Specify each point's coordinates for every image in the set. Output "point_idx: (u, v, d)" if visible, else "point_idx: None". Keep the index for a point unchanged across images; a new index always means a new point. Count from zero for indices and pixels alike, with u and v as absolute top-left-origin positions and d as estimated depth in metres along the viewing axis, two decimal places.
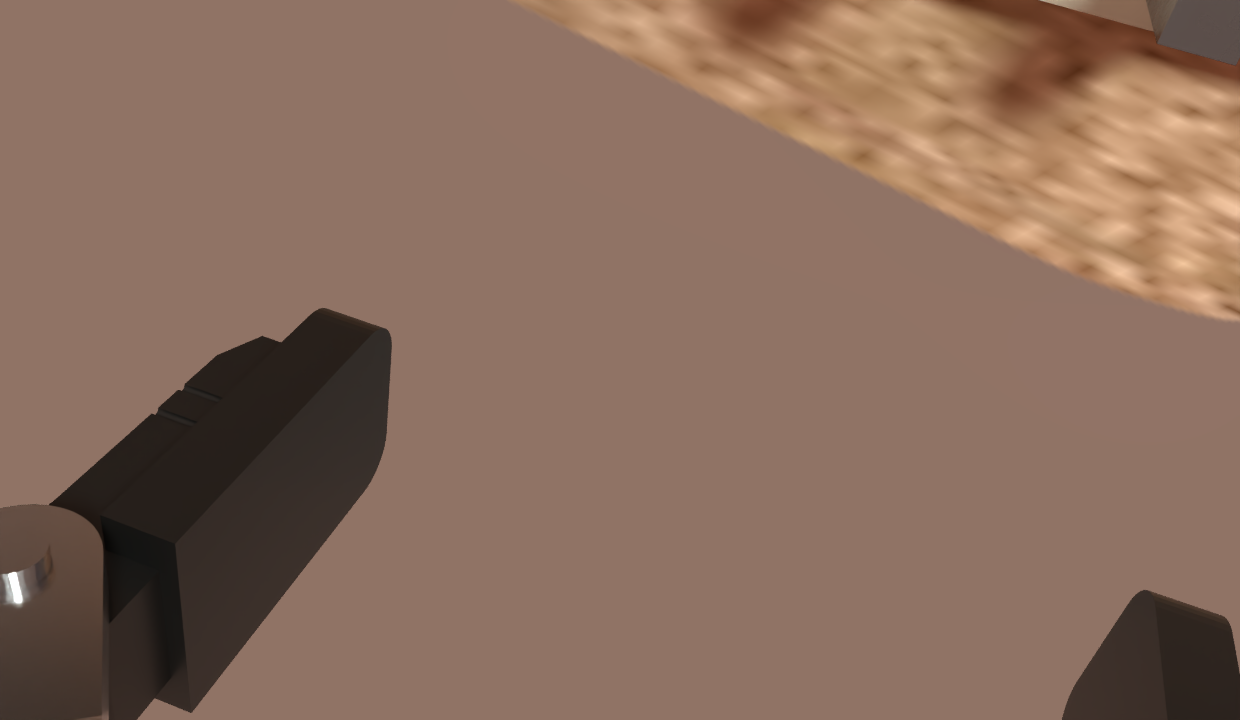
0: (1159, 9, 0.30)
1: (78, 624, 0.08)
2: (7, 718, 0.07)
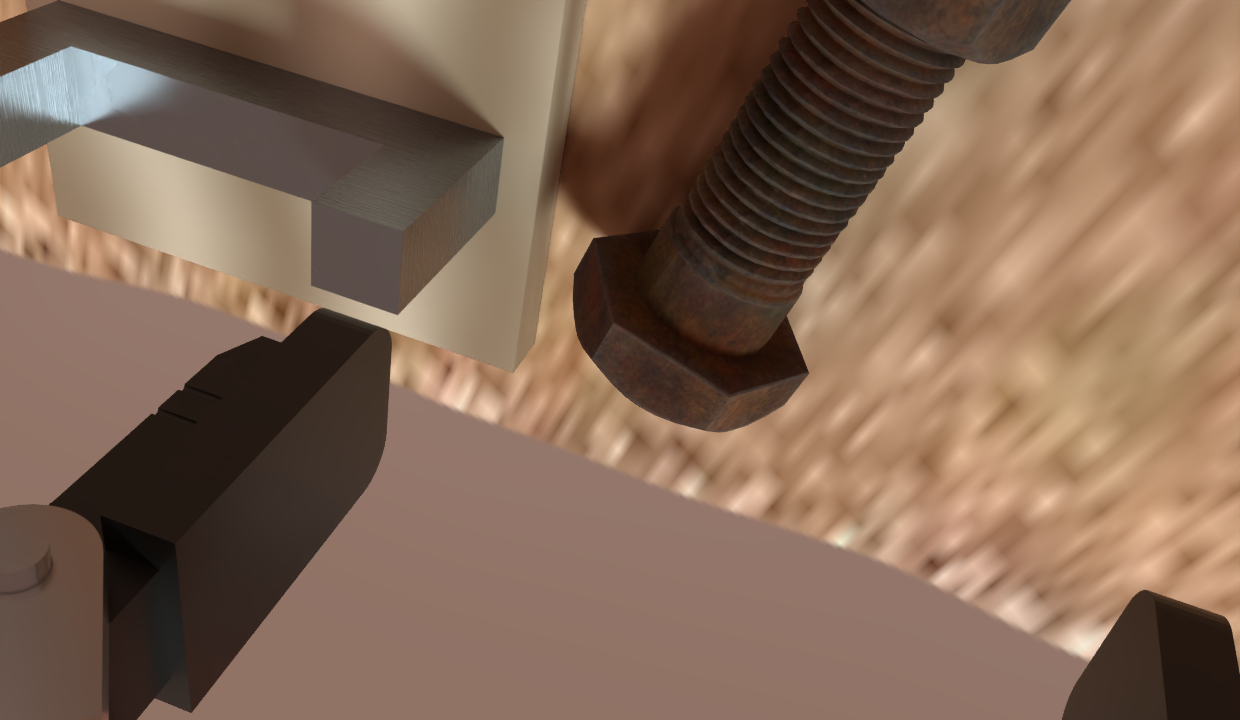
0: None
1: (78, 624, 0.08)
2: (7, 718, 0.07)
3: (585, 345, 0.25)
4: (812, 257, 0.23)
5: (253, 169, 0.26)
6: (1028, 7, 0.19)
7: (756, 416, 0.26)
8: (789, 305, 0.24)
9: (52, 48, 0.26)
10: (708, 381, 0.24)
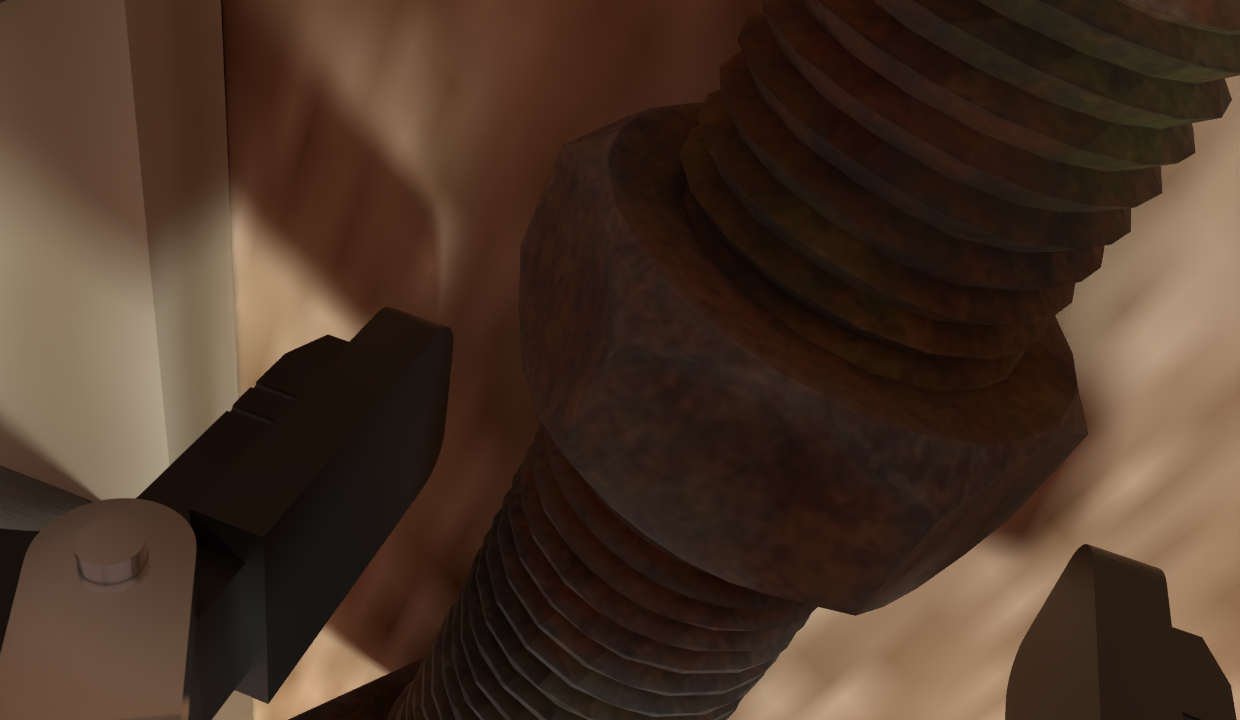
0: None
1: (179, 615, 0.08)
2: (92, 708, 0.07)
3: None
4: None
5: None
6: (989, 503, 0.08)
7: None
8: None
9: None
10: None
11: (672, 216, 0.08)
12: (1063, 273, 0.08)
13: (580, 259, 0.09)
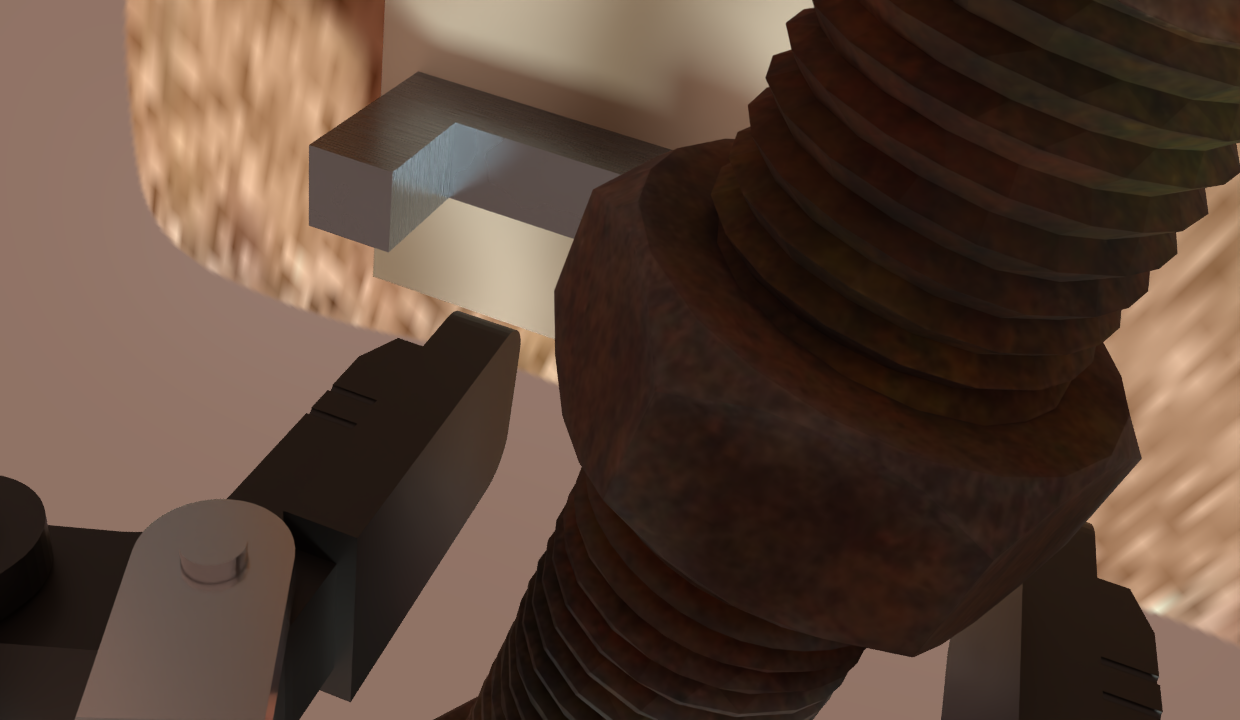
0: (366, 123, 0.25)
1: (284, 614, 0.08)
2: (181, 706, 0.08)
3: None
4: None
5: None
6: (1044, 534, 0.08)
7: None
8: None
9: (440, 125, 0.26)
10: None
11: (707, 258, 0.08)
12: (1110, 300, 0.08)
13: (616, 305, 0.08)
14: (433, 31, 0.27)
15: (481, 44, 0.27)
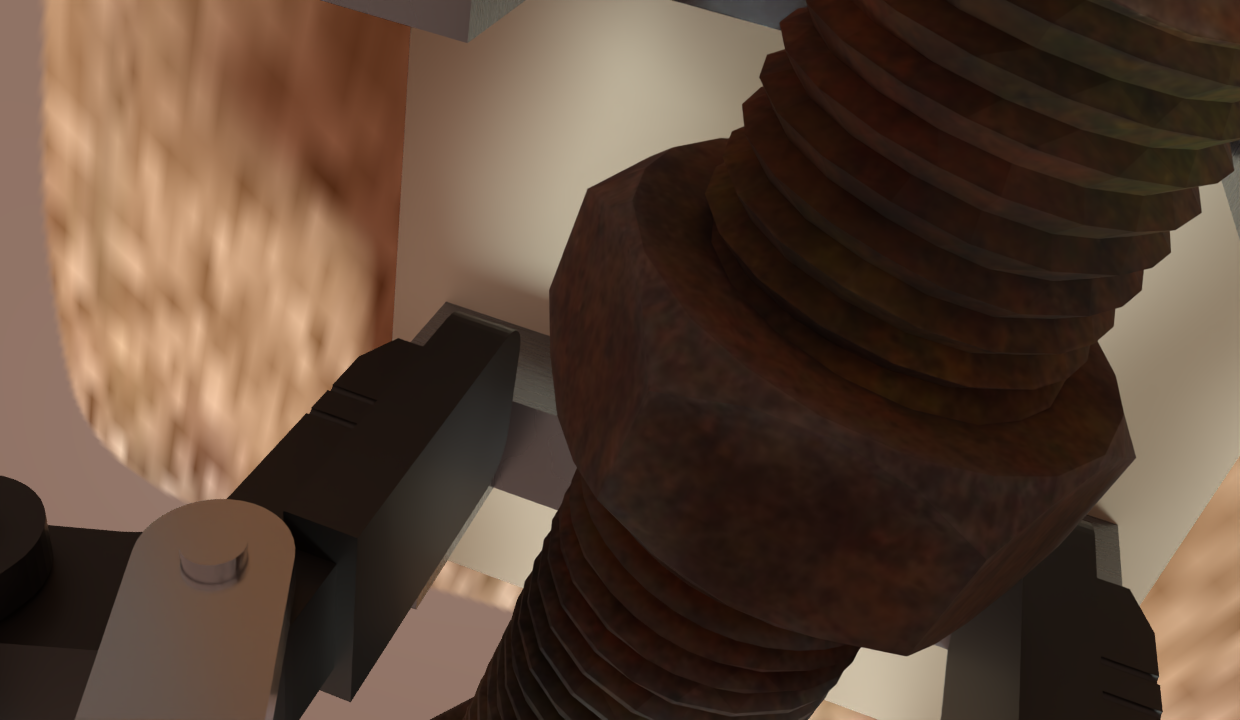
0: None
1: (283, 614, 0.08)
2: (181, 706, 0.08)
3: None
4: None
5: None
6: (1038, 534, 0.08)
7: None
8: None
9: None
10: None
11: (701, 258, 0.08)
12: (1104, 299, 0.08)
13: (610, 306, 0.08)
14: (468, 254, 0.19)
15: (537, 274, 0.19)
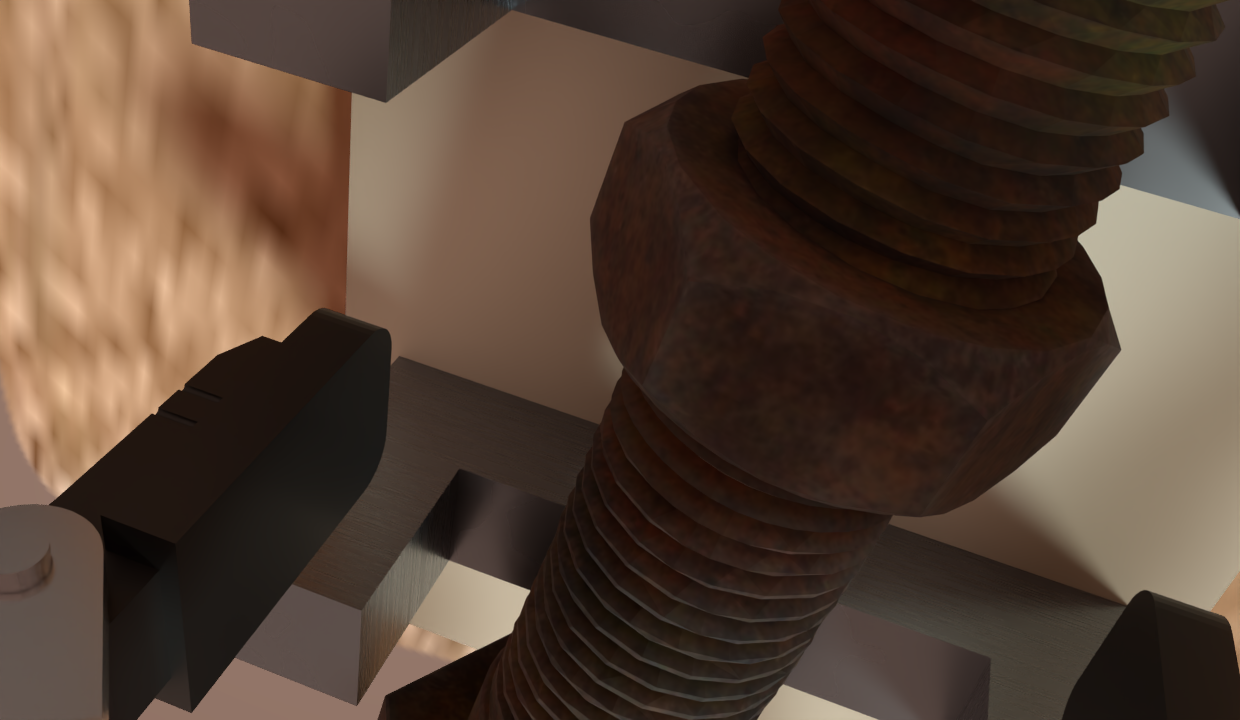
0: None
1: (78, 624, 0.08)
2: (7, 718, 0.07)
3: None
4: None
5: None
6: (1034, 411, 0.09)
7: None
8: None
9: (436, 479, 0.16)
10: None
11: (729, 172, 0.09)
12: (1085, 193, 0.09)
13: (649, 217, 0.10)
14: (422, 306, 0.18)
15: (496, 329, 0.18)
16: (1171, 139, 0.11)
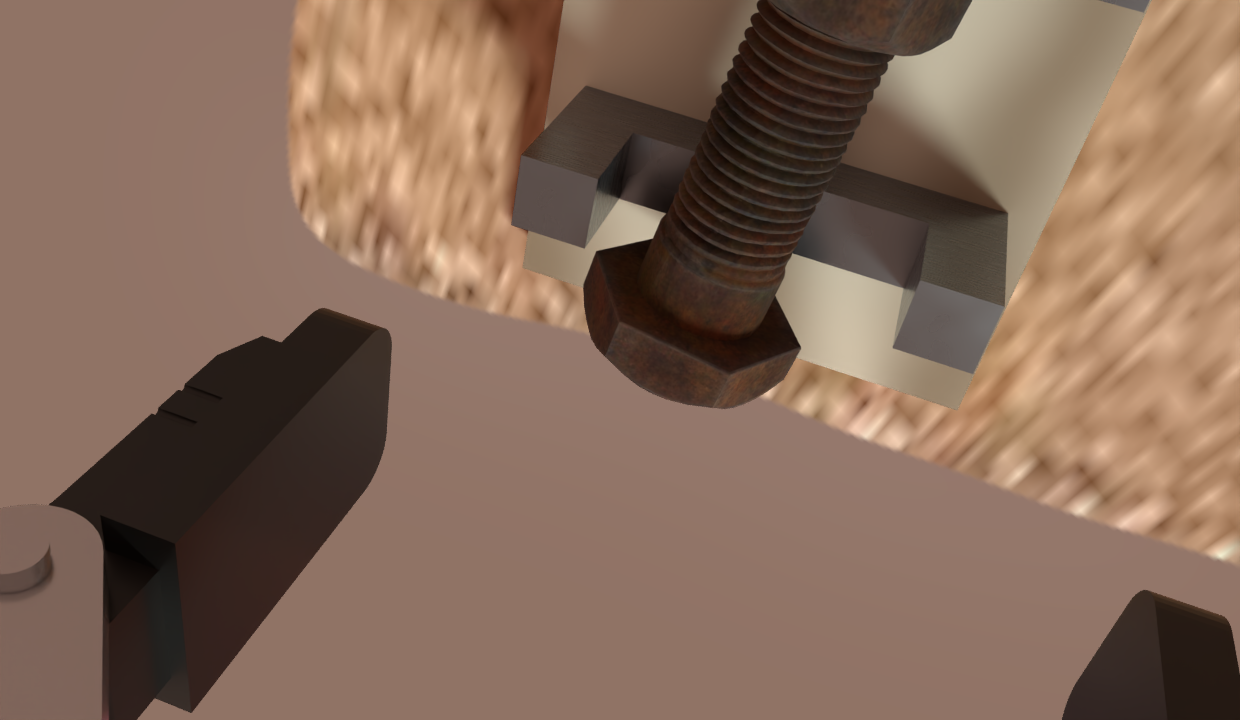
0: (560, 134, 0.29)
1: (79, 624, 0.08)
2: (7, 718, 0.07)
3: (598, 345, 0.28)
4: (786, 243, 0.26)
5: None
6: (937, 3, 0.22)
7: (759, 391, 0.29)
8: (773, 288, 0.27)
9: (621, 136, 0.29)
10: (708, 363, 0.27)
11: None
12: None
13: None
14: (603, 50, 0.31)
15: (648, 62, 0.30)
16: None
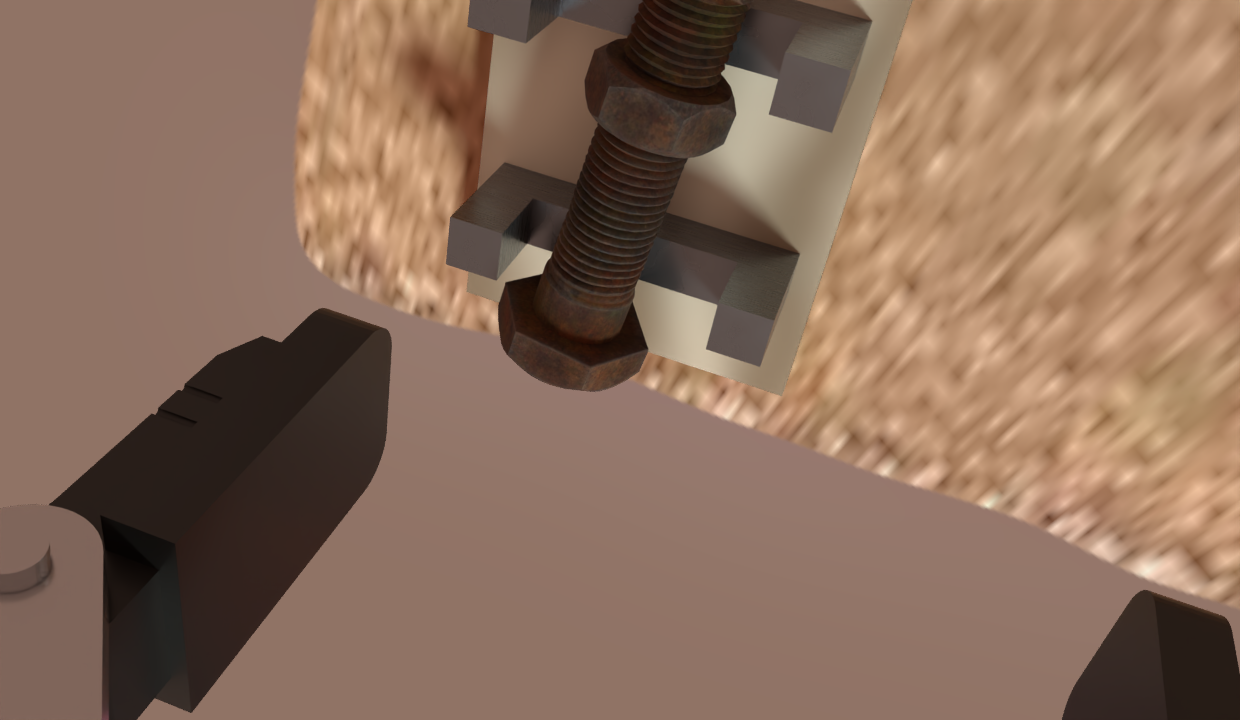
0: (480, 200, 0.41)
1: (78, 624, 0.08)
2: (7, 717, 0.07)
3: (504, 348, 0.40)
4: (628, 277, 0.39)
5: (643, 273, 0.42)
6: (704, 125, 0.35)
7: (619, 380, 0.41)
8: (623, 308, 0.39)
9: (524, 201, 0.42)
10: (576, 360, 0.39)
11: (622, 61, 0.35)
12: (710, 64, 0.34)
13: (600, 74, 0.35)
14: (515, 138, 0.43)
15: (546, 147, 0.43)
16: (762, 56, 0.36)
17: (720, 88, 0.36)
